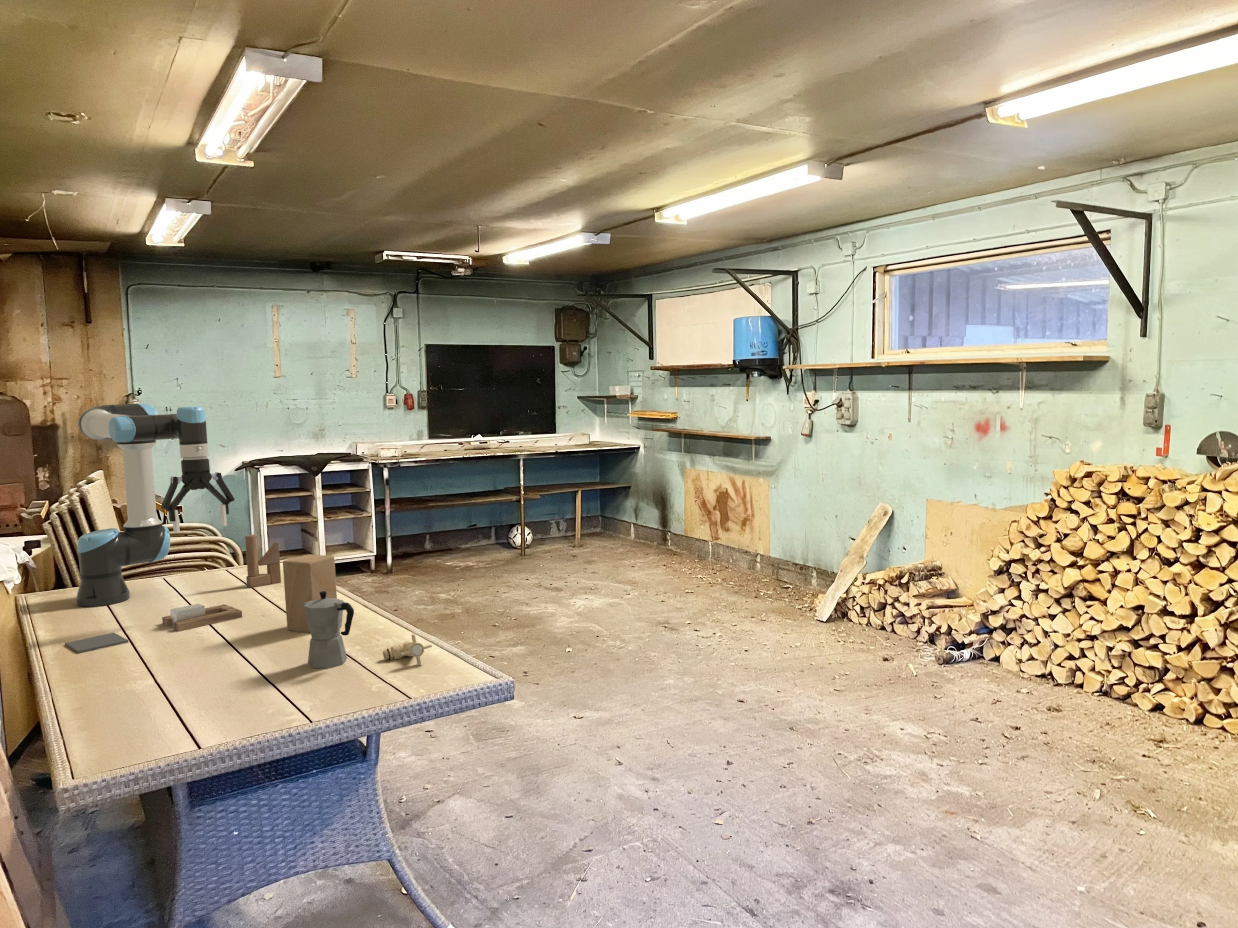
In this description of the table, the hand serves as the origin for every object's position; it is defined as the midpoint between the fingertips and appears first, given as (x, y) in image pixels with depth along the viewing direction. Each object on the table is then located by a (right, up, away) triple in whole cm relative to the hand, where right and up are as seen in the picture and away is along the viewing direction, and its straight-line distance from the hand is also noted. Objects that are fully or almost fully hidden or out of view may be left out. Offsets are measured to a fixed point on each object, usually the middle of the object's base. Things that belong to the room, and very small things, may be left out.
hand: (200, 528), depth 253 cm
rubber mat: (-17, -30, -22) cm, 41 cm away
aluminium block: (-1, -28, -5) cm, 28 cm away
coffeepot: (+55, -30, -45) cm, 77 cm away
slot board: (+1, -27, -2) cm, 27 cm away
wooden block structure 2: (+1, -23, +44) cm, 49 cm away
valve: (+73, -29, -44) cm, 90 cm away
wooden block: (+38, -27, -13) cm, 49 cm away
